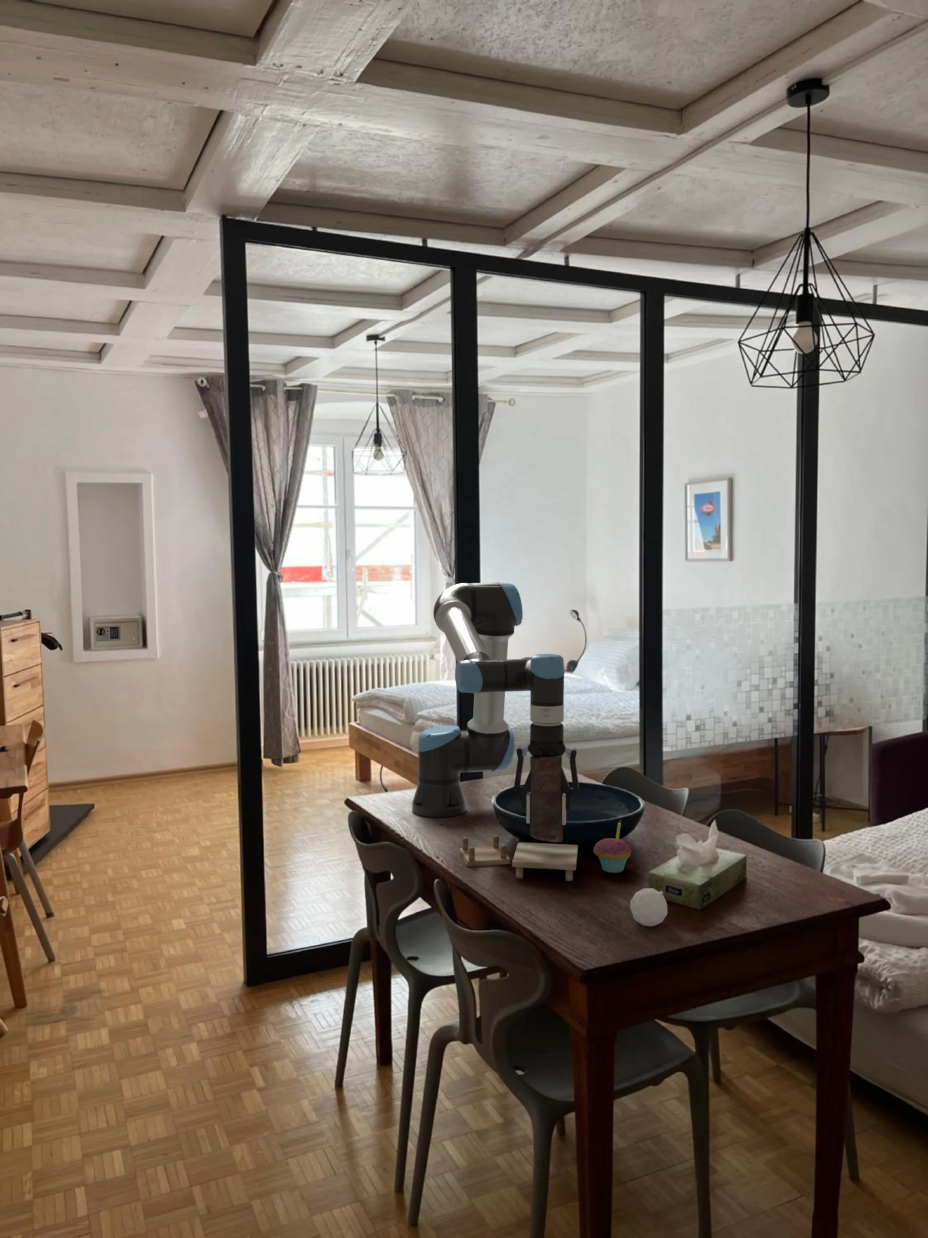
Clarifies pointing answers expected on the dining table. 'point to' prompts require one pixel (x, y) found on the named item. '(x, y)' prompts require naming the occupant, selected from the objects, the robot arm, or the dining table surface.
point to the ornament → (648, 907)
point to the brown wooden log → (546, 798)
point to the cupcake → (613, 853)
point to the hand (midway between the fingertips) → (546, 822)
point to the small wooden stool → (545, 857)
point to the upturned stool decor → (484, 854)
